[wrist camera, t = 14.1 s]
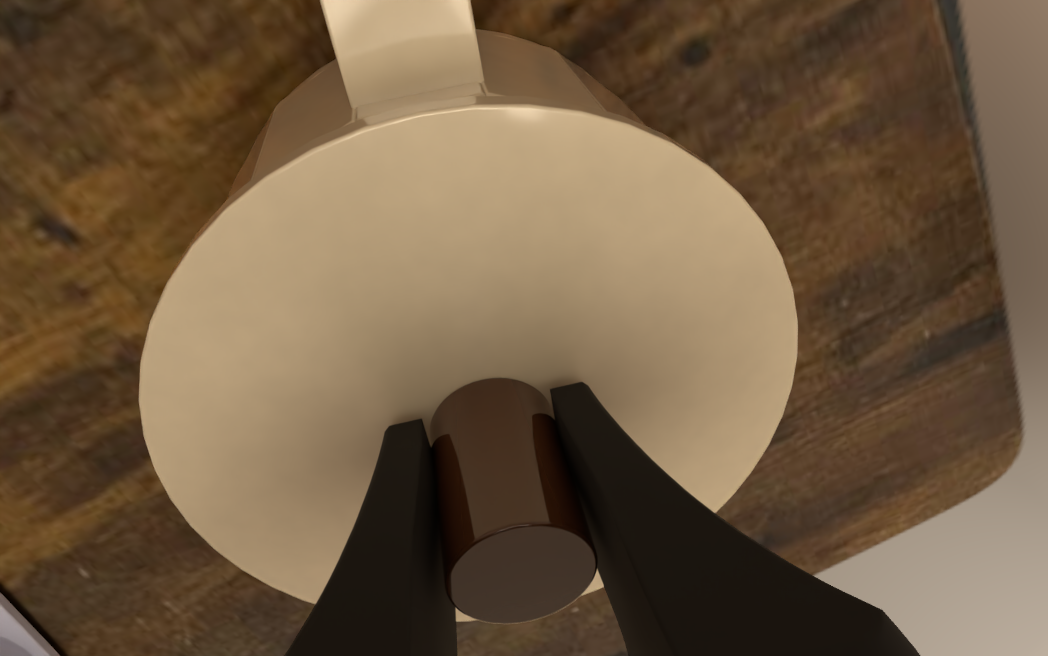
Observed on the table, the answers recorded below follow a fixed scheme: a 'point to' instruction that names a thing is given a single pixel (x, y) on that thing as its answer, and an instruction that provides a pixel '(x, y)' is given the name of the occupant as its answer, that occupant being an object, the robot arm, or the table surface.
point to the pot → (414, 72)
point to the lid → (462, 339)
